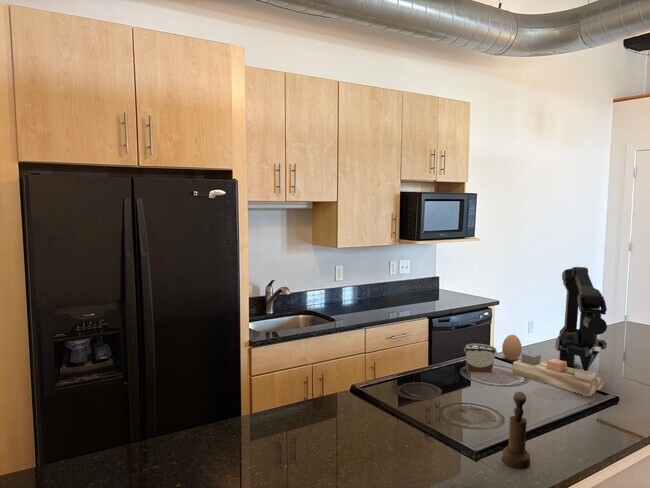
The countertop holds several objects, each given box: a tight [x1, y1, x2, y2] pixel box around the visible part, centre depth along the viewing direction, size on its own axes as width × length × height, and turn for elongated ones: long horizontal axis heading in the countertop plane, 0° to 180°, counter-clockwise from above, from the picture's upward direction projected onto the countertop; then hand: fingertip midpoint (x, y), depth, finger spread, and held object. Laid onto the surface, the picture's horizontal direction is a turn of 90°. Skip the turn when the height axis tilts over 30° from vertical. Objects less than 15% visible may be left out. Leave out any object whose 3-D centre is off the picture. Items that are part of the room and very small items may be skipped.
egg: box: [501, 334, 523, 362], centre depth 204 cm, size 8×8×11 cm
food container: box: [463, 343, 498, 375], centre depth 190 cm, size 12×6×10 cm, turn 84°
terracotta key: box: [547, 358, 567, 372], centre depth 180 cm, size 5×5×3 cm
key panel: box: [511, 358, 605, 396], centre depth 181 cm, size 12×28×4 cm, turn 39°
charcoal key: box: [521, 351, 542, 365], centre depth 188 cm, size 5×5×3 cm
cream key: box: [574, 368, 597, 381], centre depth 173 cm, size 5×5×3 cm
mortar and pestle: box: [501, 391, 531, 469], centre depth 122 cm, size 7×6×18 cm
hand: (585, 370), depth 172 cm, fingers closed
